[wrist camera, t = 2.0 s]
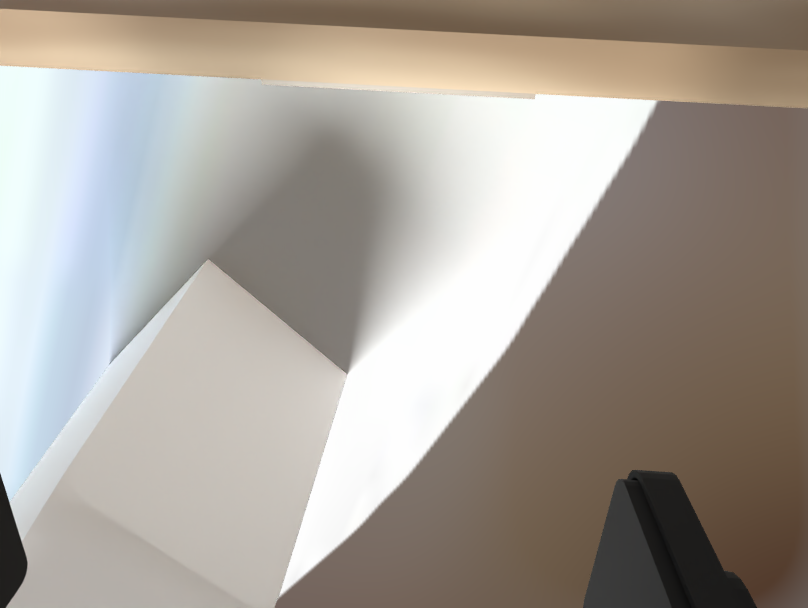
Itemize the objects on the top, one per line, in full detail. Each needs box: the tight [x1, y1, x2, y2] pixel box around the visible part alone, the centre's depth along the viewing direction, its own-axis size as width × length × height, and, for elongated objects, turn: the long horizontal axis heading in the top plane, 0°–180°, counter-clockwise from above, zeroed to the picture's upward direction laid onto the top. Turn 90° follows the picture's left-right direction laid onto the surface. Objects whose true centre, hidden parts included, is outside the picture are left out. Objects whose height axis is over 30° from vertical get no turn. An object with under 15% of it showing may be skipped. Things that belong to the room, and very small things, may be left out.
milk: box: [6, 259, 347, 608], centre depth 32 cm, size 12×12×26 cm
